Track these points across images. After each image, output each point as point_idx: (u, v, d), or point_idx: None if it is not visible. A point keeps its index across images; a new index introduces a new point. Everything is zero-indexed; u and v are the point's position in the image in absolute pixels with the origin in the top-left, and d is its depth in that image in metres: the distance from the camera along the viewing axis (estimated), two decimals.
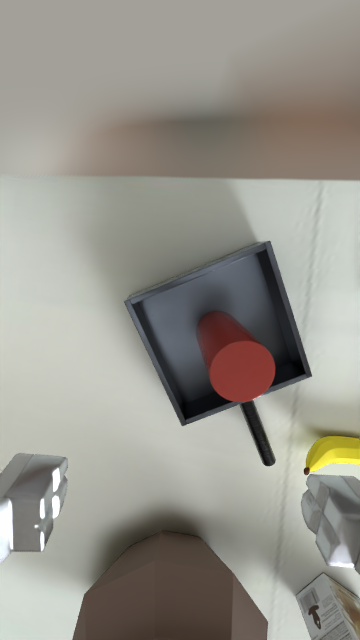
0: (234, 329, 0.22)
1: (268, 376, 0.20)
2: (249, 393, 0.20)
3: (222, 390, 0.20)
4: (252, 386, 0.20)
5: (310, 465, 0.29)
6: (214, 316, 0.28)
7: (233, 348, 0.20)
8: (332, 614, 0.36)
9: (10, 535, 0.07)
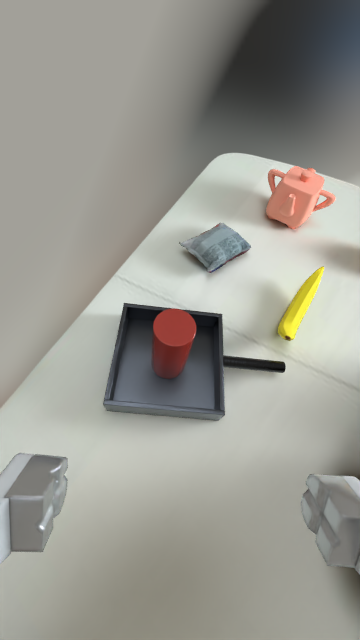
0: None
1: (184, 315, 0.32)
2: (190, 328, 0.31)
3: (180, 342, 0.30)
4: (187, 325, 0.31)
5: (285, 335, 0.38)
6: None
7: (157, 324, 0.31)
8: None
9: (10, 535, 0.07)
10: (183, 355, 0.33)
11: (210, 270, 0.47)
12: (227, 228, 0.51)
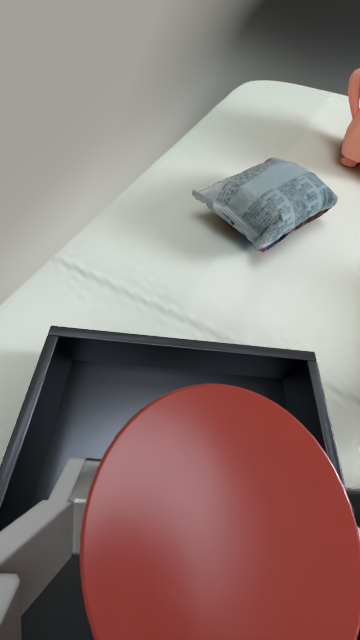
0: None
1: (271, 424, 0.06)
2: (325, 528, 0.05)
3: None
4: (299, 503, 0.05)
5: None
6: None
7: (107, 513, 0.05)
8: None
9: (71, 538, 0.07)
10: None
11: (263, 246, 0.21)
12: (290, 163, 0.25)
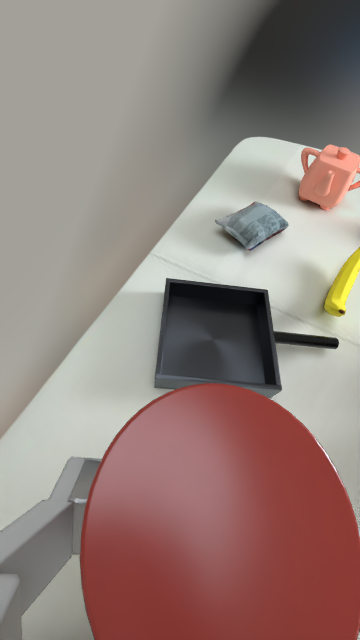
0: None
1: (272, 423, 0.06)
2: (325, 528, 0.05)
3: None
4: (299, 502, 0.05)
5: (337, 309, 0.37)
6: None
7: (108, 512, 0.05)
8: None
9: (71, 538, 0.07)
10: None
11: (249, 247, 0.46)
12: (264, 206, 0.49)
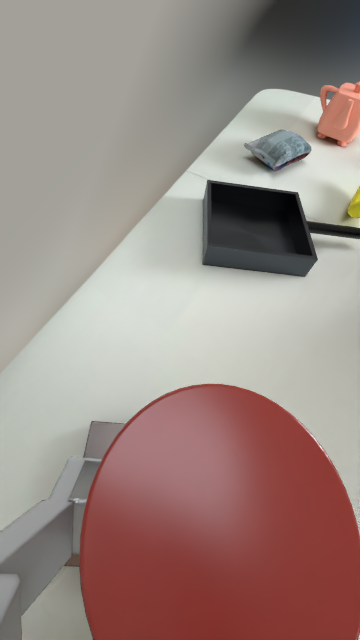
0: None
1: (272, 424, 0.06)
2: (325, 529, 0.05)
3: None
4: (300, 504, 0.05)
5: None
6: None
7: (107, 514, 0.05)
8: None
9: (71, 538, 0.07)
10: None
11: (277, 165, 0.50)
12: (289, 131, 0.53)
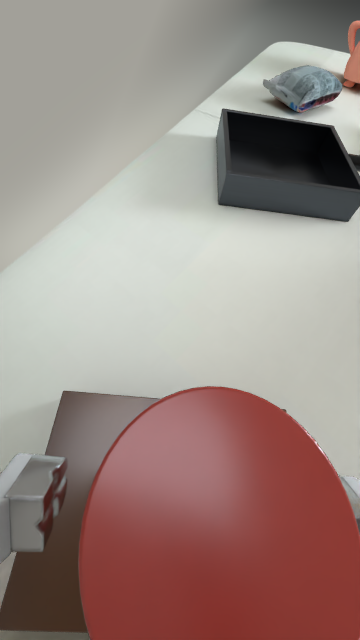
0: None
1: (272, 427, 0.06)
2: (326, 533, 0.05)
3: None
4: (300, 508, 0.05)
5: None
6: None
7: (107, 518, 0.05)
8: None
9: (9, 535, 0.07)
10: None
11: (304, 102, 0.42)
12: (316, 67, 0.45)
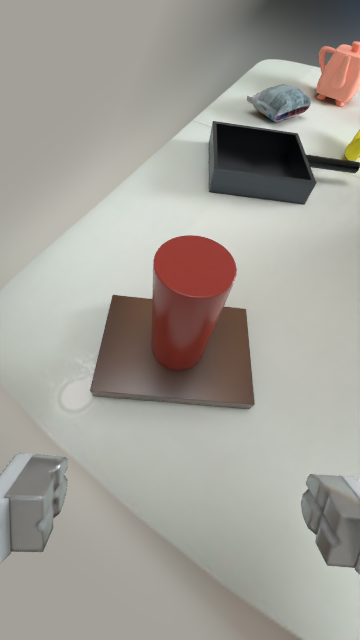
0: None
1: (213, 246, 0.17)
2: (225, 267, 0.16)
3: (208, 290, 0.15)
4: (218, 262, 0.16)
5: (358, 137, 0.44)
6: None
7: (161, 259, 0.16)
8: None
9: (9, 535, 0.07)
10: (209, 323, 0.18)
11: (278, 114, 0.53)
12: (289, 86, 0.56)
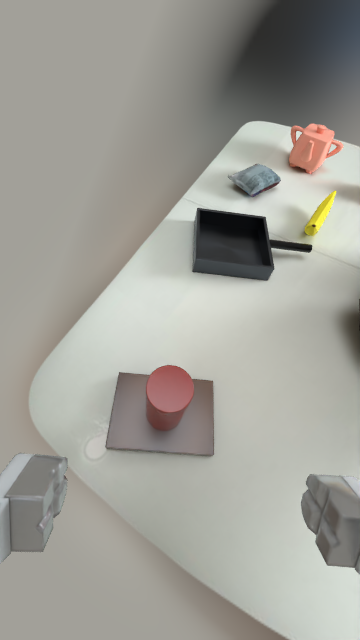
0: None
1: (181, 373, 0.29)
2: (187, 389, 0.28)
3: (176, 407, 0.27)
4: (183, 386, 0.28)
5: (311, 225, 0.56)
6: None
7: (150, 386, 0.28)
8: None
9: (10, 535, 0.07)
10: (179, 415, 0.30)
11: (252, 193, 0.65)
12: (263, 166, 0.68)
